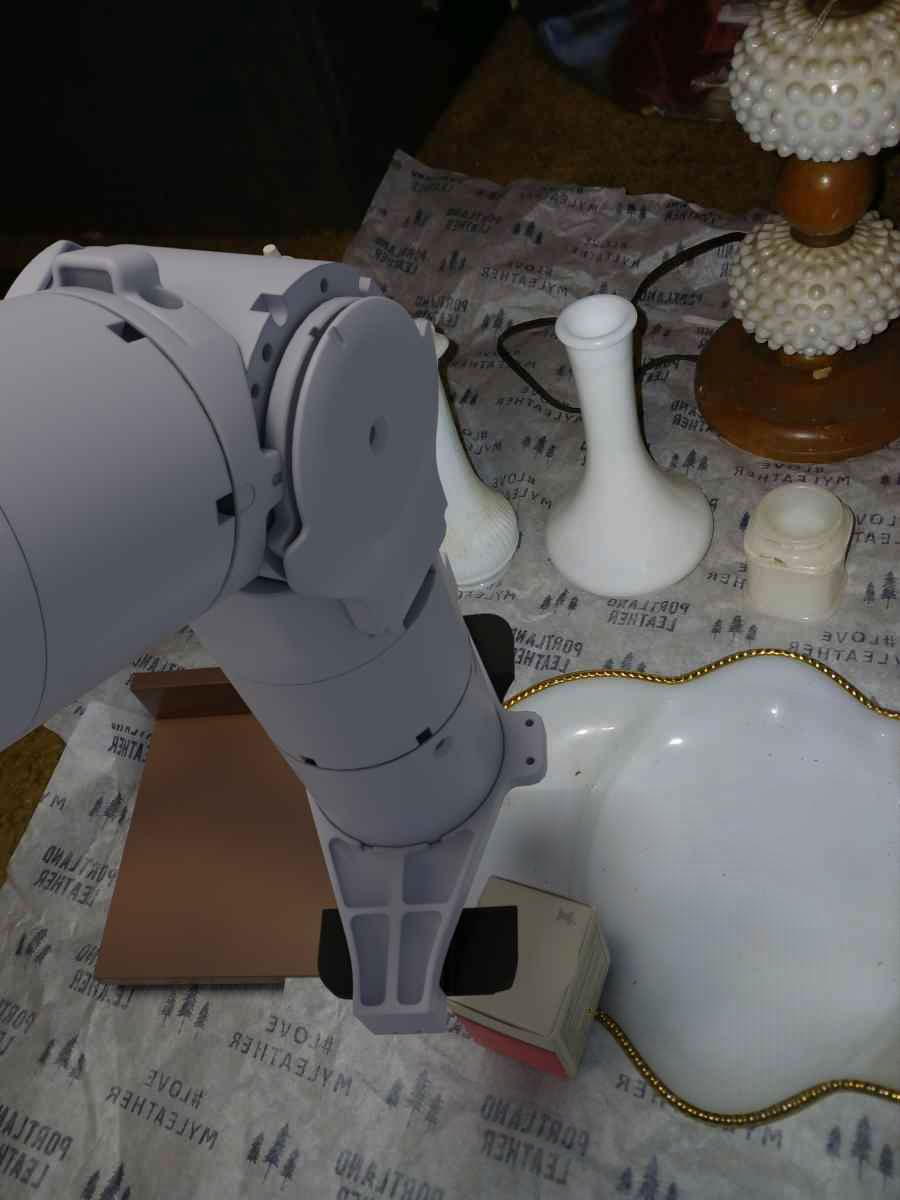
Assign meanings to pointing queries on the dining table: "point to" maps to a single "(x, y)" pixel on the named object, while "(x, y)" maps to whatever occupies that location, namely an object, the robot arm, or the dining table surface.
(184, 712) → the shelf
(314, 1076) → the dining table surface
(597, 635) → the dining table surface
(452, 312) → the dining table surface
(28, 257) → the dining table surface
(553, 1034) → the small box
